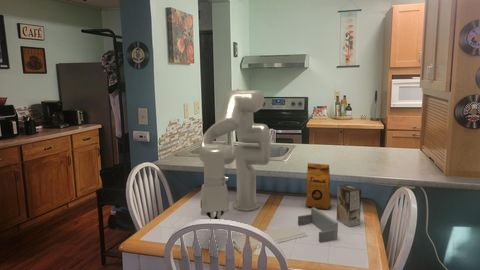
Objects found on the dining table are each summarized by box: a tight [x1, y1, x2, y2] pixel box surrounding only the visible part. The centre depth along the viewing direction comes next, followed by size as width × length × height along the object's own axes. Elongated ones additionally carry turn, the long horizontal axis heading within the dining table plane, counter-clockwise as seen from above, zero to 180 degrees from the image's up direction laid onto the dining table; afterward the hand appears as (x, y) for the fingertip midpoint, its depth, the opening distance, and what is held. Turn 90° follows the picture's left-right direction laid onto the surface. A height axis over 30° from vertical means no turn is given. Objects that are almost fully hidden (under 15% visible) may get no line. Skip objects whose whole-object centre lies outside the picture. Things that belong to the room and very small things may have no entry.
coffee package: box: [305, 162, 332, 210], centre depth 180 cm, size 10×12×22 cm
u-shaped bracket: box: [297, 207, 339, 243], centre depth 152 cm, size 18×8×7 cm, turn 19°
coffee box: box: [336, 184, 362, 228], centre depth 161 cm, size 9×6×16 cm
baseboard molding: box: [231, 224, 308, 254], centre depth 146 cm, size 31×3×12 cm
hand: (215, 228), depth 137 cm, fingers closed
